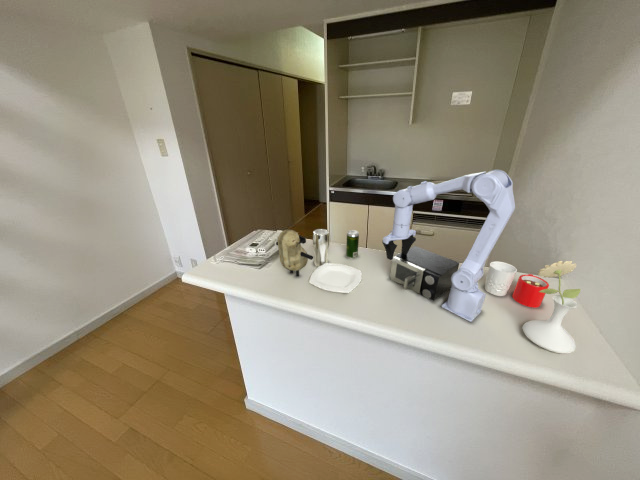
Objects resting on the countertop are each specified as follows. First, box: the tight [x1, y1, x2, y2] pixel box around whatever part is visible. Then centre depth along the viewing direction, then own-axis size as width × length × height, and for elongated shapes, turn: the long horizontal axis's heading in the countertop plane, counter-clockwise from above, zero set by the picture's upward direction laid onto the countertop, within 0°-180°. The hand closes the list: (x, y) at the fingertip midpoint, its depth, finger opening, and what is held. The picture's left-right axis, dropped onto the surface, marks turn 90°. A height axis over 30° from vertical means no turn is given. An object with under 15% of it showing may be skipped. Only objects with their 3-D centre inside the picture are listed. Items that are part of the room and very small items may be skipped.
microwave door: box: [389, 255, 426, 295], centre depth 93 cm, size 7×13×10 cm, turn 39°
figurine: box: [275, 229, 314, 278], centre depth 100 cm, size 19×12×20 cm, turn 49°
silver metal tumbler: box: [312, 228, 330, 268], centre depth 109 cm, size 7×7×15 cm
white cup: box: [484, 260, 518, 297], centre depth 91 cm, size 8×8×10 cm
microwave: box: [395, 245, 460, 302], centre depth 96 cm, size 15×18×10 cm
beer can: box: [345, 229, 360, 260], centre depth 115 cm, size 5×5×12 cm
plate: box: [308, 262, 363, 294], centre depth 99 cm, size 19×19×2 cm
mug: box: [511, 273, 550, 308], centre depth 88 cm, size 8×12×8 cm, turn 152°
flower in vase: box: [522, 260, 581, 354], centre depth 67 cm, size 13×11×25 cm
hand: (397, 256), depth 96 cm, fingers open, 7 cm apart
